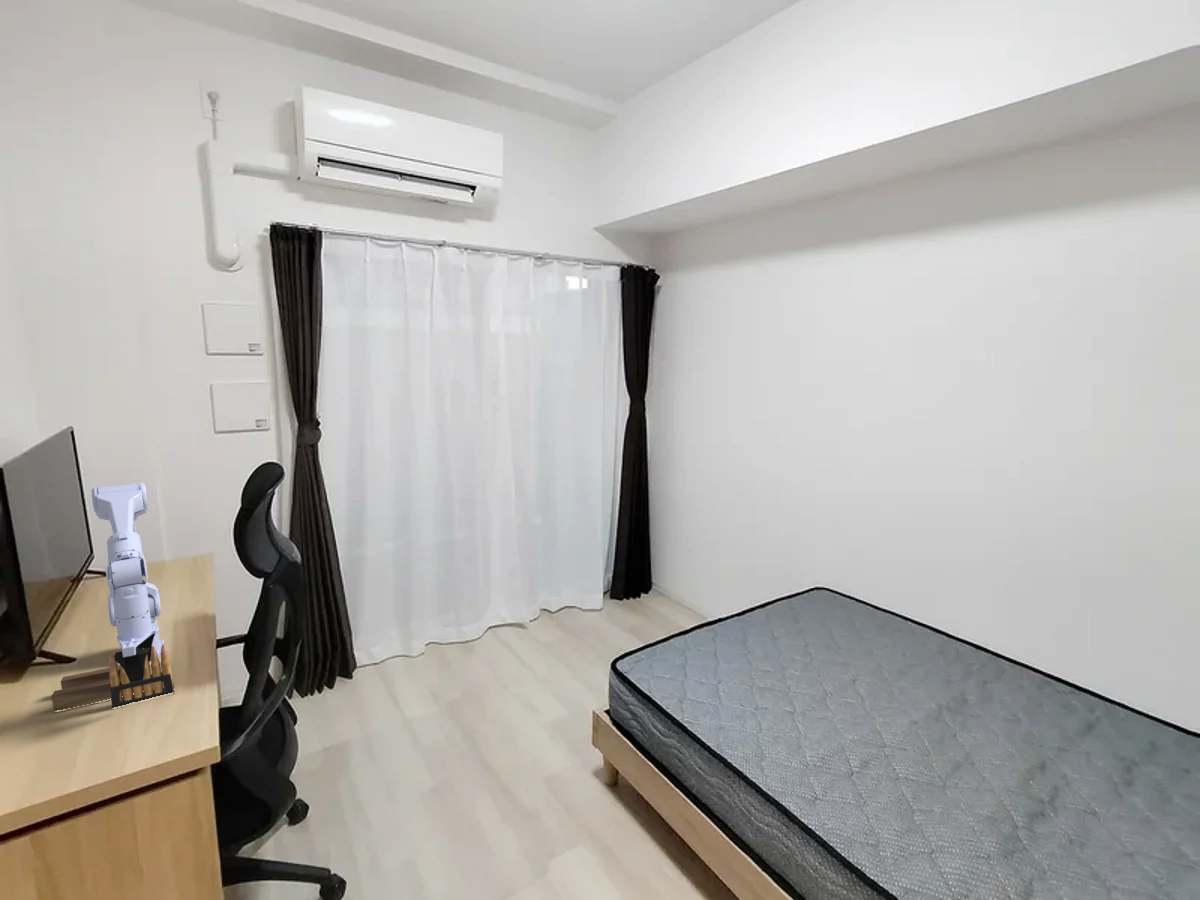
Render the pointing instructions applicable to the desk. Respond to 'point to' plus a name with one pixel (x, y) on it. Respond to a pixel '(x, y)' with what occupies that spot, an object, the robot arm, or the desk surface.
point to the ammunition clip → (147, 684)
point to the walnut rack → (83, 689)
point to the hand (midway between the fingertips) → (140, 671)
